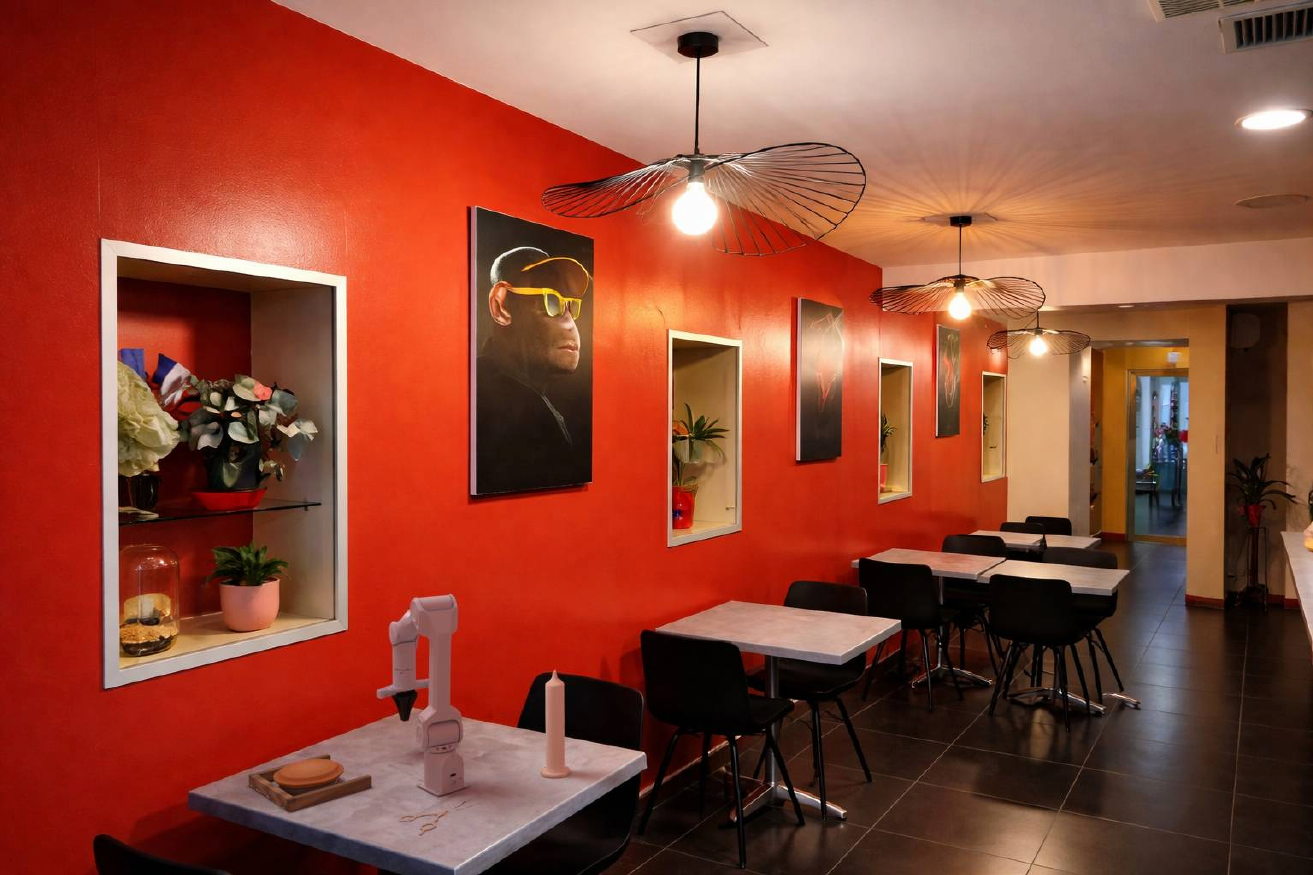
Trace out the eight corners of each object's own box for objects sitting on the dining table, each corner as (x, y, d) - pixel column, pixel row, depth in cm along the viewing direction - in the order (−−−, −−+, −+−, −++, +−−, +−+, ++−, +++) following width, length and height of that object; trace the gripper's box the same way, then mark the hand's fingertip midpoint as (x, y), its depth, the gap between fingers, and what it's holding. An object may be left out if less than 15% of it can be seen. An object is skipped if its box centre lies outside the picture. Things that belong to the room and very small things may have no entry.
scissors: (389, 820, 199) (464, 791, 215) (389, 824, 199) (464, 794, 215) (420, 834, 192) (495, 802, 208) (420, 837, 192) (495, 806, 208)
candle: (562, 779, 222) (562, 674, 222) (535, 776, 225) (535, 672, 225) (574, 769, 229) (574, 667, 229) (548, 766, 231) (547, 665, 231)
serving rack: (371, 787, 219) (371, 776, 219) (289, 811, 205) (289, 800, 205) (327, 763, 234) (327, 753, 234) (248, 785, 220) (248, 774, 220)
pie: (259, 790, 217) (259, 768, 217) (318, 770, 230) (318, 750, 230) (298, 805, 208) (298, 783, 208) (357, 784, 221) (357, 763, 221)
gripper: (420, 660, 249) (421, 710, 249) (370, 670, 239) (371, 723, 239) (435, 664, 244) (435, 716, 245) (384, 675, 234) (385, 729, 234)
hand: (404, 720), depth 242 cm, fingers closed
